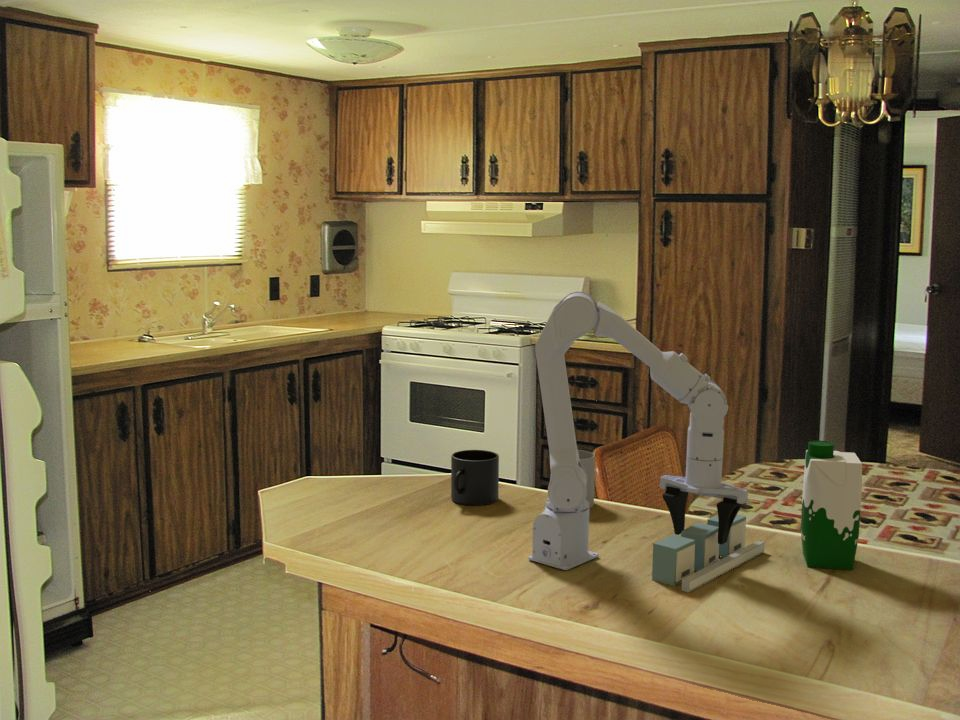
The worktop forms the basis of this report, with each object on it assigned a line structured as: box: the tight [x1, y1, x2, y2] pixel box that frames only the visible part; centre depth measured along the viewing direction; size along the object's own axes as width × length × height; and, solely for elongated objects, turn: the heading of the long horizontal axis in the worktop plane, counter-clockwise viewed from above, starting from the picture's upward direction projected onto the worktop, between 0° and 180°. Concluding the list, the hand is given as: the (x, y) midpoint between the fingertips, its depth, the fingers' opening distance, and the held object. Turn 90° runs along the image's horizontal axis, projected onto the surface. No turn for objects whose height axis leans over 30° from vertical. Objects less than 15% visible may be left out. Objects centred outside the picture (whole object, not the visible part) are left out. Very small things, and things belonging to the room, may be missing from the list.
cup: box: [578, 449, 596, 509], centre depth 202 cm, size 8×8×10 cm
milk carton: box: [800, 440, 863, 571], centre depth 169 cm, size 9×9×20 cm
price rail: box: [681, 540, 766, 593], centre depth 166 cm, size 25×1×2 cm, turn 138°
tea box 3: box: [706, 514, 747, 558], centre depth 175 cm, size 6×4×6 cm
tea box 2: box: [680, 522, 720, 571], centre depth 169 cm, size 6×4×6 cm
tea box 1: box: [651, 534, 695, 587], centre depth 163 cm, size 6×4×6 cm
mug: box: [450, 449, 500, 507], centre depth 204 cm, size 9×12×9 cm
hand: (700, 537), depth 169 cm, fingers open, 7 cm apart
